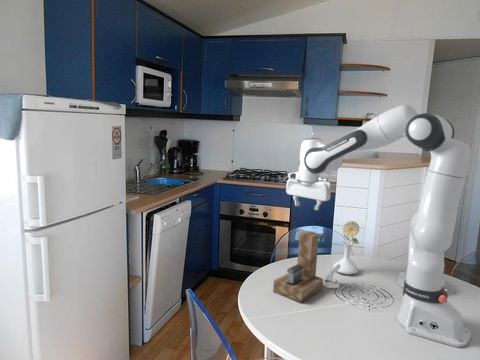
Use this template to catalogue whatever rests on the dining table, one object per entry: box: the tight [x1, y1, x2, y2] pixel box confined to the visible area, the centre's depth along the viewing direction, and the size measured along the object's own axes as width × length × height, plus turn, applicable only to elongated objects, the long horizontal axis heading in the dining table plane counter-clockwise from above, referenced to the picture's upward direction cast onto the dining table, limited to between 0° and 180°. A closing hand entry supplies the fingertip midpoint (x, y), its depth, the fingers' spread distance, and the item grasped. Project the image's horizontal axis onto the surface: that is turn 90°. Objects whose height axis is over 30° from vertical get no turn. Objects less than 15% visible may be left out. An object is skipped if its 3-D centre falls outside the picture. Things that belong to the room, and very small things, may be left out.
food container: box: [396, 270, 448, 290], centre depth 159 cm, size 20×20×7 cm
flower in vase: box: [332, 220, 360, 275], centre depth 168 cm, size 13×11×25 cm
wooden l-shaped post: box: [272, 230, 324, 304], centre depth 147 cm, size 13×16×23 cm
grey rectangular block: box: [286, 264, 304, 286], centre depth 146 cm, size 2×8×10 cm, turn 139°
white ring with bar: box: [322, 264, 341, 289], centre depth 155 cm, size 8×12×7 cm
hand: (306, 207), depth 159 cm, fingers open, 8 cm apart
